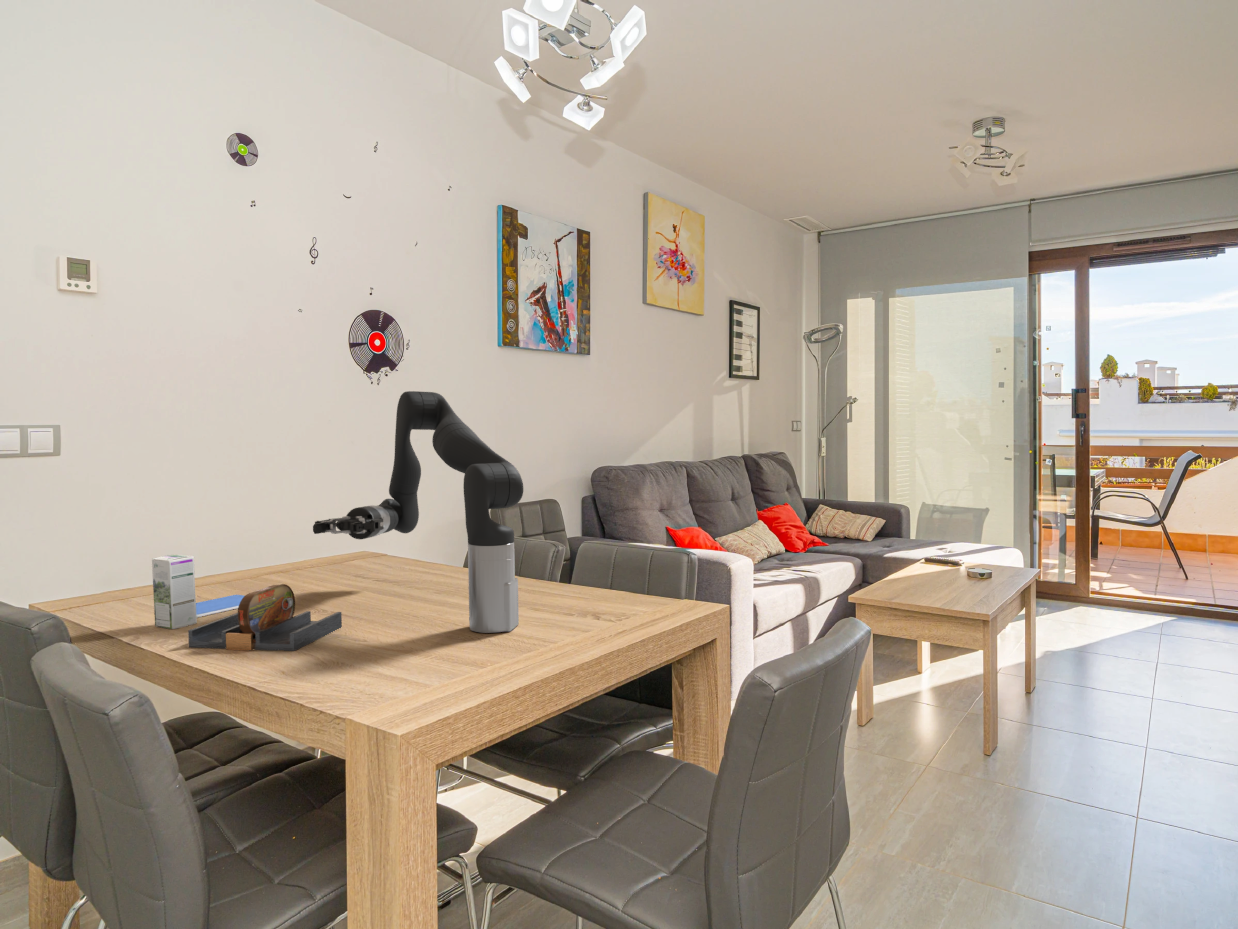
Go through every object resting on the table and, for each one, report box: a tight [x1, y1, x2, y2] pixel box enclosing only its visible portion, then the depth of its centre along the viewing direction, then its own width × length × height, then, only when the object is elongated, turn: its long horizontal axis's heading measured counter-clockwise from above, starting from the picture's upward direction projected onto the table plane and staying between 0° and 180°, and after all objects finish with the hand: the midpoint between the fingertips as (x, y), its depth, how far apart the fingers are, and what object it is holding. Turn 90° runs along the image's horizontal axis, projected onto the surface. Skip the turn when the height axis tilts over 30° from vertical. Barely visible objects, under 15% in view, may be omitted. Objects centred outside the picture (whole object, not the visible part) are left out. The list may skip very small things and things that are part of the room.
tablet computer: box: [196, 594, 245, 619], centre depth 175 cm, size 19×13×1 cm, turn 153°
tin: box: [237, 583, 296, 636], centre depth 148 cm, size 15×3×8 cm, turn 171°
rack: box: [187, 610, 343, 652], centre depth 147 cm, size 21×18×3 cm
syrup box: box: [151, 554, 198, 630], centre depth 157 cm, size 6×6×14 cm
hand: (333, 528), depth 165 cm, fingers open, 8 cm apart
